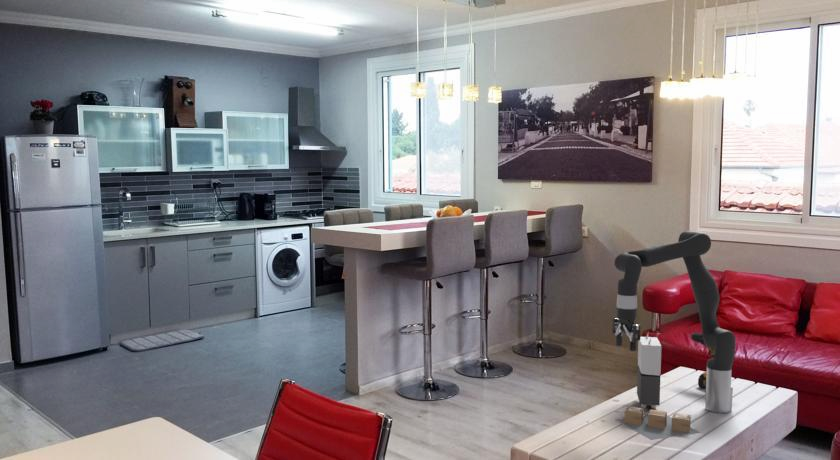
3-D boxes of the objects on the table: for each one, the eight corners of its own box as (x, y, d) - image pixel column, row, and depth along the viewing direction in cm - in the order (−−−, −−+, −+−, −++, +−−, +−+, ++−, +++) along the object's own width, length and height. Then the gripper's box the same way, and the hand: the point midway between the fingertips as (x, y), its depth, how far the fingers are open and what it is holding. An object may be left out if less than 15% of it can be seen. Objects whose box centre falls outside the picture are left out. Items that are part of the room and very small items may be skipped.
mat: (662, 414, 289) (662, 413, 289) (701, 434, 268) (701, 432, 268) (615, 421, 281) (615, 419, 281) (650, 441, 261) (651, 439, 261)
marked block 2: (673, 425, 275) (673, 412, 274) (690, 428, 272) (690, 414, 272) (671, 430, 270) (671, 417, 269) (688, 433, 267) (689, 419, 266)
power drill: (692, 379, 336) (694, 326, 334) (733, 391, 318) (735, 335, 316) (681, 382, 332) (683, 328, 330) (722, 394, 314) (724, 338, 312)
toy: (659, 412, 291) (661, 338, 289) (640, 411, 293) (642, 337, 290) (655, 400, 306) (657, 330, 303) (636, 399, 307) (638, 329, 305)
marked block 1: (627, 418, 282) (627, 405, 282) (643, 421, 280) (643, 407, 279) (624, 423, 277) (625, 410, 276) (640, 426, 274) (641, 412, 274)
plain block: (650, 422, 279) (650, 409, 278) (666, 424, 276) (667, 411, 276) (647, 427, 273) (648, 414, 273) (664, 429, 271) (664, 416, 270)
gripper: (646, 309, 271) (645, 351, 272) (623, 302, 284) (622, 343, 285) (630, 310, 268) (628, 353, 269) (607, 303, 281) (606, 344, 283)
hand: (625, 348), depth 277 cm, fingers open, 8 cm apart
